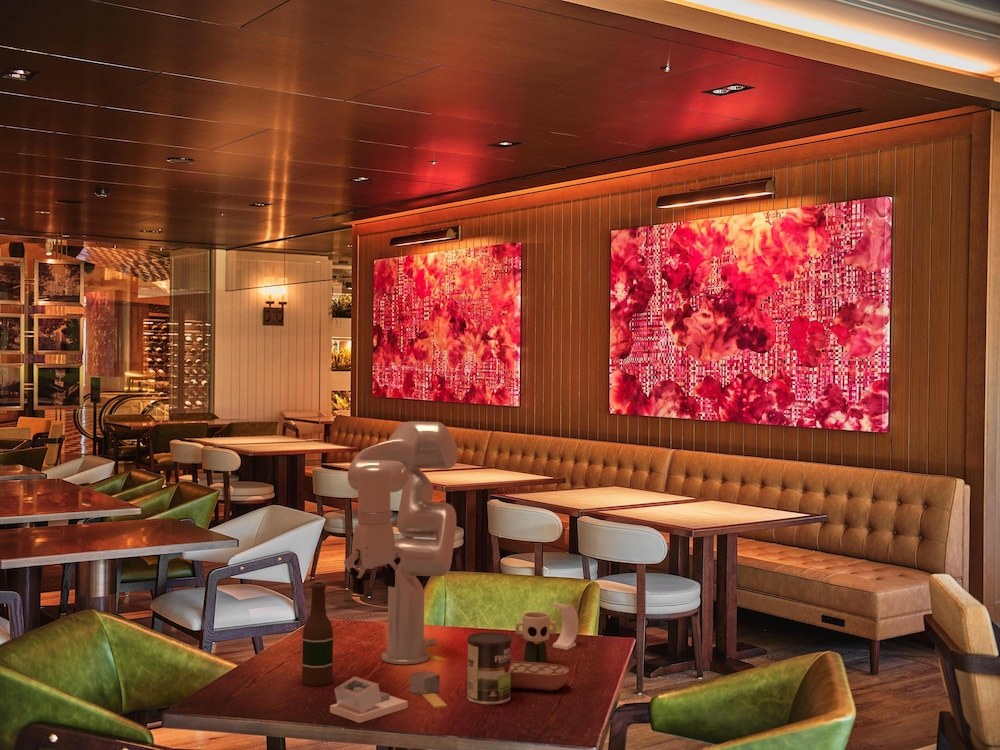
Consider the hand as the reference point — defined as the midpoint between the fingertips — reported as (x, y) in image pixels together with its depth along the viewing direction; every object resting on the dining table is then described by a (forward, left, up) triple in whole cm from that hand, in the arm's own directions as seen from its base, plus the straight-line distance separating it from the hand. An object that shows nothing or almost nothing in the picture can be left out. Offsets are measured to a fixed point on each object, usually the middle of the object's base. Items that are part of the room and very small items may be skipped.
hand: (374, 590), depth 242 cm
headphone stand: (-65, +6, -24) cm, 70 cm away
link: (+12, +9, -22) cm, 26 cm away
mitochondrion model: (-28, +22, -25) cm, 43 cm away
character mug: (-45, +12, -24) cm, 53 cm away
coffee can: (-16, +22, -24) cm, 37 cm away
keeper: (+9, +9, -24) cm, 27 cm away
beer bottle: (+4, -16, -24) cm, 29 cm away
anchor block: (-9, +8, -24) cm, 27 cm away
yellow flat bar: (-6, +15, -24) cm, 29 cm away
